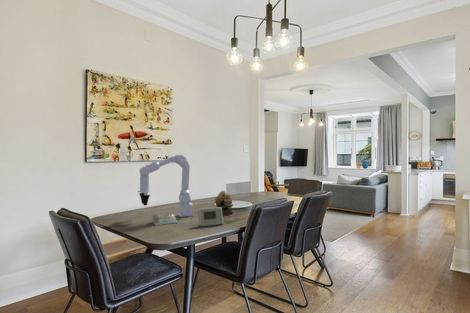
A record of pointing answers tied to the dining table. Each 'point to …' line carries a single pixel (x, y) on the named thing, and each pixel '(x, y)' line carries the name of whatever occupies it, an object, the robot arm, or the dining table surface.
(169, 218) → the gauge sled
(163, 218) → the gauge bench
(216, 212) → the digital clock
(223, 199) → the brown bushy plant
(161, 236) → the dining table surface
